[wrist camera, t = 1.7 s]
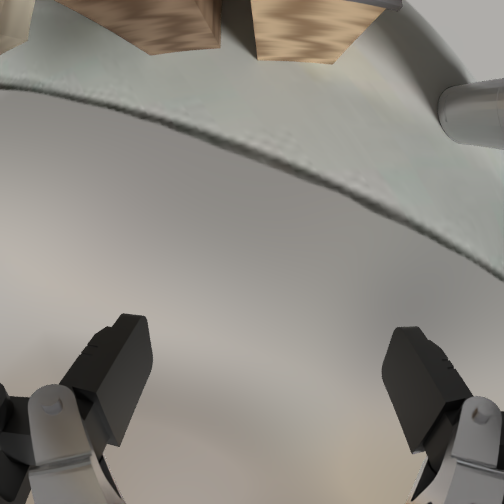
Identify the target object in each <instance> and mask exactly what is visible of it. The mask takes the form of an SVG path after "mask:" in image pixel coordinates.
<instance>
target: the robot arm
mask: <svg viewBox="0 0 504 504" xmlns="http://www.w3.org/2000/svg"><path fill="white" fill-rule="evenodd" d="M438 116H439V120H440V123H441V125H442V128H443V129H444V131H445V133H446V134H447V135H448V136H449V137H450V138H451V139H452V140H453V141H455V142H457V143H460V144H466V145H474V146H481V147H489V148H496V149H502V150H504V78H502V79H494V80H489V81H482V82H475V83H470V84H464V85H459V86H454V87H449V88H448V89H446V90H445V91H444V92H443V93H442V95H441V97H440V99H439V103H438ZM81 353H82V354H81V355H79V357H78V358H77V359H76V361H75V362H74V363H73V365H72V366H71V368H70V369H69V371H68V372H67V373H66V375H65V376H64V378H63V379H62V380H61V382H60V383H59V385H57V384H51V385H46V386H44V387H41V388H39V389H38V390H36V391H35V392H34V393H33V394H32V395H31V397H30V398H28V397H14V396H9V395H8V394H7V392H6V390H5V388H4V386H3V385H2V384H1V383H0V504H25V503H26V500H27V498H28V495H29V493H30V490H32V494H33V499H34V502H35V504H126V503H125V500H124V498H123V496H122V494H121V492H120V490H119V488H118V486H117V483H116V481H115V479H114V477H113V474H112V472H111V470H110V467H109V465H108V463H107V460H106V458H105V455H104V453H103V451H104V449H105V447H106V444H110V445H114V446H118V447H120V445H121V442H122V439H123V437H124V435H125V432H126V430H127V427H128V425H129V422H130V420H131V417H132V415H133V413H134V410H135V408H136V405H137V403H138V400H139V398H140V396H141V394H142V391H143V389H144V386H145V384H146V382H147V379H148V377H149V375H150V372H151V369H152V363H153V354H152V348H151V342H150V336H149V329H148V322H147V319H146V317H145V316H141V315H132V314H124V313H123V314H121V315H120V317H119V318H118V319H117V321H116V322H115V323H114V325H113V326H112V327H108V326H107V327H105V328H104V329H102V330H101V331H99V332H98V333H96V334H95V335H94V336H93V338H92V339H91V340H90V342H89V343H88V346H86V347H85V349H84V350H83V351H82V352H81ZM382 379H383V382H384V385H385V387H386V389H387V392H388V394H389V397H390V399H391V402H392V404H393V406H394V409H395V411H396V414H397V416H398V419H399V421H400V424H401V426H402V429H403V432H404V434H405V437H406V440H407V442H408V445H409V448H410V450H411V453H412V454H415V453H420V452H424V451H426V454H427V457H426V459H425V460H424V461H423V464H422V466H421V469H420V471H419V473H418V476H417V478H416V481H415V483H414V485H413V487H412V490H411V492H410V494H409V496H408V498H407V500H406V502H405V504H504V412H503V411H500V409H499V408H498V406H497V405H496V404H495V403H494V402H492V401H491V400H489V399H487V398H485V397H480V396H475V397H474V396H473V395H472V393H471V392H470V390H469V388H468V387H467V386H466V384H465V382H464V381H463V379H462V378H461V377H460V375H459V373H458V372H457V370H456V369H454V366H453V365H452V363H451V362H450V361H448V357H447V356H446V355H445V353H444V352H443V350H442V349H441V348H440V347H439V346H437V345H436V344H435V343H433V342H432V341H431V340H428V339H427V338H426V336H425V335H424V333H423V332H422V331H421V329H420V328H419V327H417V326H415V327H397V328H396V329H395V330H394V332H393V335H392V338H391V341H390V344H389V347H388V350H387V354H386V356H385V359H384V361H383V365H382Z"/></svg>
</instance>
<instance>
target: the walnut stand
mask: <svg viewBox="0 0 504 504" xmlns="http://www.w3.org/2000/svg"><path fill="white" fill-rule="evenodd" d="M54 1H56V2H58V3H60V4H62V5H64V6H66V7H68V8H70V9H72V10H74V11H76V12H78V13H80V14H82V15H83V16H85V17H87V18H89V19H91V20H93V21H94V22H96V23H98V24H100V25H101V26H103V27H105V28H107V29H108V30H110V31H112V32H113V33H115V34H117V35H118V36H120V37H122V38H123V39H125V40H127V41H128V42H130V43H132V44H133V45H135V46H136V47H138V48H139V49H141V50H143V51H144V52H146V53H147V54H149V55H157V54H164V53H171V52H180V51H189V50H200V49H214V48H220V44H221V12H222V0H54Z"/></svg>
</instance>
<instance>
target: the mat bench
mask: <svg viewBox="0 0 504 504" xmlns="http://www.w3.org/2000/svg"><path fill="white" fill-rule="evenodd" d="M251 7H252V15H253V24H254V32H255V41H256V49H257V58H258V60H273V61H297V62H311V63H323V64H333V63H334V62H335V61H336V60H337V59H338V58H339V57H340V56H341V55H342V54H343V53H344V52H345V50H346V49H347V48H348V47H349V46H350V45H351V44H352V43H353V42H354V41H355V40H356V39H357V38H358V37H359V36H360V35H361V34H362V33H363V32H364V31H365V29H366V28H367V27H368V26H369V25H370V24H371V23H372V22H373V21H374V20H375V19H376V18H377V17H378V16H379V15H380V14H381V13H382V12H383V11H384V10H385V9H390V10H394V11H398V10H399V9H401V8H402V7H403V6H402V0H251Z"/></svg>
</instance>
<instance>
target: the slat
mask: <svg viewBox="0 0 504 504" xmlns="http://www.w3.org/2000/svg"><path fill="white" fill-rule="evenodd" d="M34 4H35V0H0V55H1V54H3V53H5V52H7V51H8V50H10V49H12V48H14V47H16V46H18V45H20V44H22V43H24V42H26V41H28V35H29V29H30V23H31V18H32V13H33V9H34Z"/></svg>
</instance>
